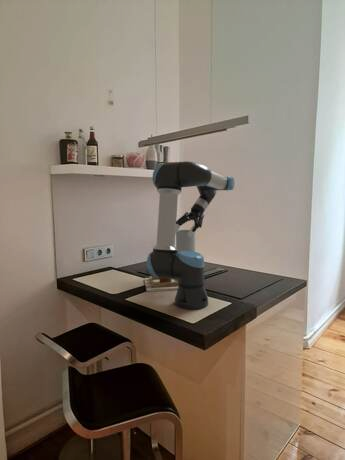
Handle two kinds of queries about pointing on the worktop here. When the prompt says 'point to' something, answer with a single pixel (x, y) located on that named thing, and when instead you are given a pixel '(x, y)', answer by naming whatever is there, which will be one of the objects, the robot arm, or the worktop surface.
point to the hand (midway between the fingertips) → (180, 234)
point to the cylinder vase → (185, 241)
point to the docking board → (159, 284)
